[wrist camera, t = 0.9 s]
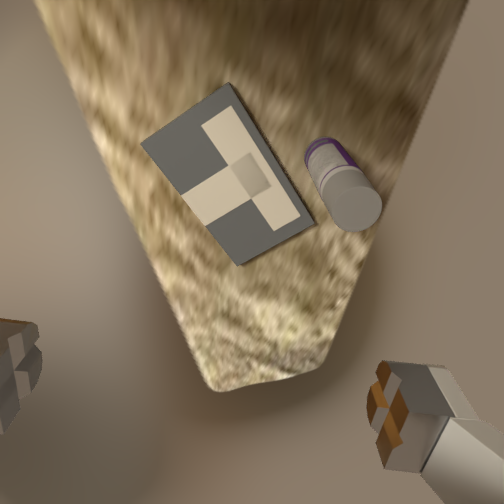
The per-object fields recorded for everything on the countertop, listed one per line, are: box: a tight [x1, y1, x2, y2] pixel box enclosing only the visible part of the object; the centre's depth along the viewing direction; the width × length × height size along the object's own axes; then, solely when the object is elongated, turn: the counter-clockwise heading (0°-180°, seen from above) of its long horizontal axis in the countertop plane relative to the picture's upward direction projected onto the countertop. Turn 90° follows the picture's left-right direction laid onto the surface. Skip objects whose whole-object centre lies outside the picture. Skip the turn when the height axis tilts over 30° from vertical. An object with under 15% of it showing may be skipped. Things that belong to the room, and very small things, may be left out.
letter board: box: [141, 82, 315, 266], centre depth 48 cm, size 20×12×1 cm, turn 32°
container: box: [304, 137, 382, 232], centre depth 41 cm, size 5×5×15 cm
